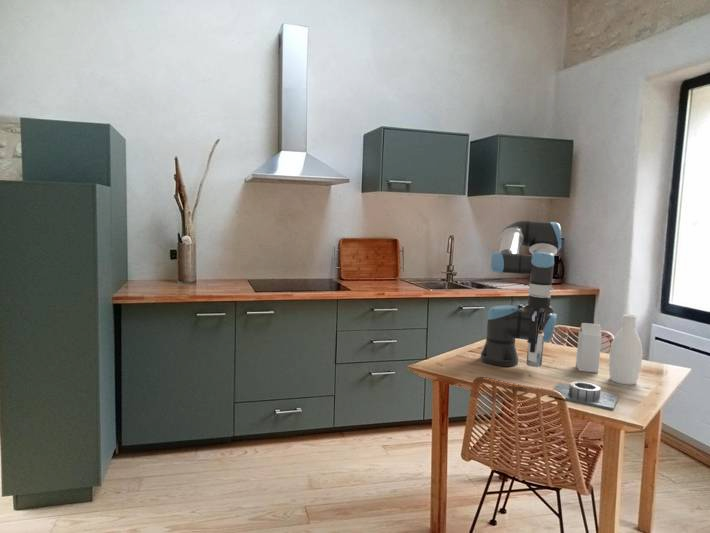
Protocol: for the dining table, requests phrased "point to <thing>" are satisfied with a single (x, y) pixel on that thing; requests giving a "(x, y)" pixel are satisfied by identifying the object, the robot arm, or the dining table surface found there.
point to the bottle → (626, 353)
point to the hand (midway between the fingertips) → (534, 358)
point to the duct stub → (539, 351)
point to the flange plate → (599, 402)
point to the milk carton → (589, 347)
